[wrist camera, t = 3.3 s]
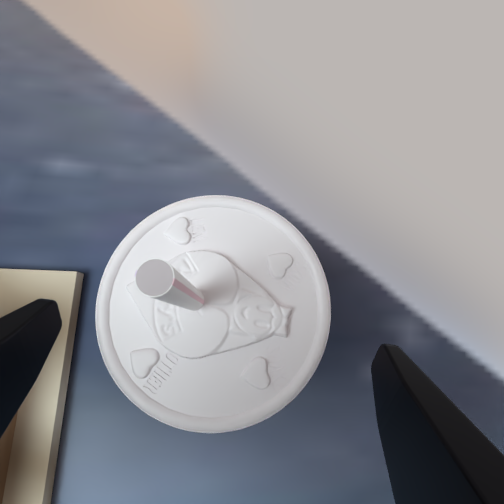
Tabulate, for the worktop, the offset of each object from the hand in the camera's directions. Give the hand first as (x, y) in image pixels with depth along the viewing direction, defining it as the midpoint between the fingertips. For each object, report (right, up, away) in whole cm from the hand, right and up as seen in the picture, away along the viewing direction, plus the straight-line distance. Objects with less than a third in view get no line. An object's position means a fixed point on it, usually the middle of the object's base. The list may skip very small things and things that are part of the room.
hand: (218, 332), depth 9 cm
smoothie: (0, -1, +9) cm, 9 cm away
